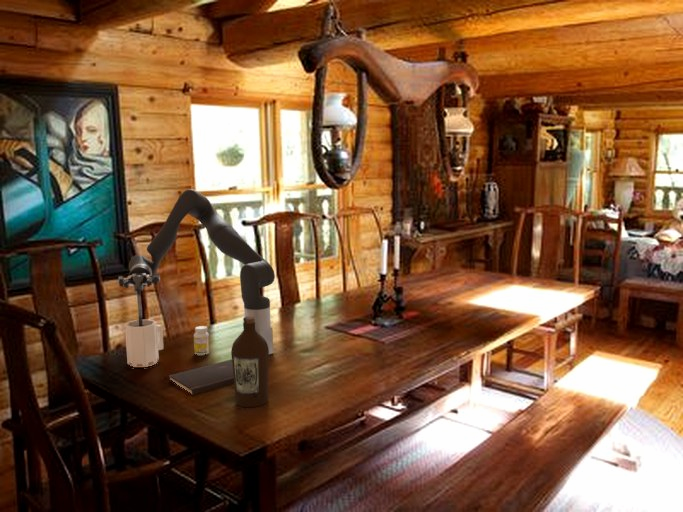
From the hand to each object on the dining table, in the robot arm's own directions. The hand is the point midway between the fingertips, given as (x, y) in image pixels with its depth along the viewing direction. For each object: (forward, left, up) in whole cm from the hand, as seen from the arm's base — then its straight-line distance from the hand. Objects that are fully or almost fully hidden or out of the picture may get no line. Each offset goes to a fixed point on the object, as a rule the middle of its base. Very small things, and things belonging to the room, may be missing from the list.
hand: (137, 284), depth 198 cm
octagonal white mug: (+2, -3, -28) cm, 29 cm away
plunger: (+2, -1, -16) cm, 16 cm away
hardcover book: (-28, -8, -29) cm, 41 cm away
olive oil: (-51, -4, -29) cm, 59 cm away
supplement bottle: (-4, -21, -29) cm, 36 cm away
